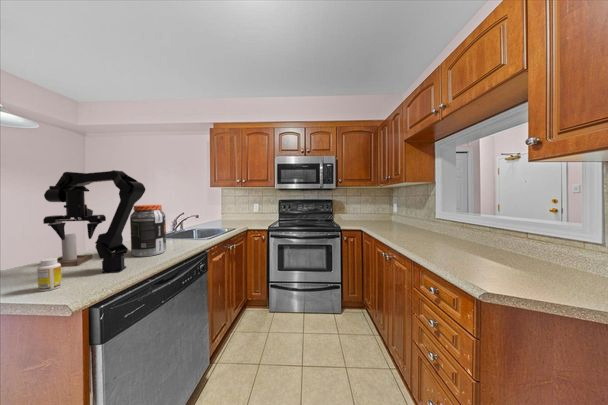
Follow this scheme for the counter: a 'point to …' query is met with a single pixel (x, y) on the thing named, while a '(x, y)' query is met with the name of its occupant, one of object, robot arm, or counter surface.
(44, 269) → the supplement bottle
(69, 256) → the beverage can
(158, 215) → the supplement tub
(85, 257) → the walnut tray
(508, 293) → the counter surface
